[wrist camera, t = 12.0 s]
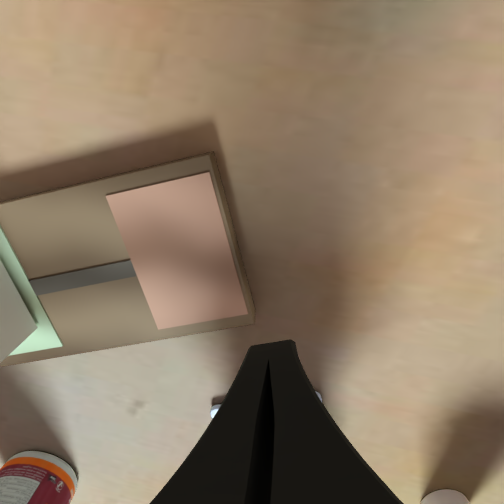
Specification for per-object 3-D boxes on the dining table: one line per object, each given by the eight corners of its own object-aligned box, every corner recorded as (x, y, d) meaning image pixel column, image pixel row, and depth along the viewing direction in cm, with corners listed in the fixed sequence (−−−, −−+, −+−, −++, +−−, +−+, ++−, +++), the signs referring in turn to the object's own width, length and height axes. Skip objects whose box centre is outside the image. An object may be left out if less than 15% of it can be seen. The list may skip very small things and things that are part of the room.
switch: (255, 310, 22) (254, 324, 20) (-44, 362, 25) (-64, 378, 23) (213, 151, 18) (208, 155, 17) (-132, 233, 21) (-162, 243, 20)
